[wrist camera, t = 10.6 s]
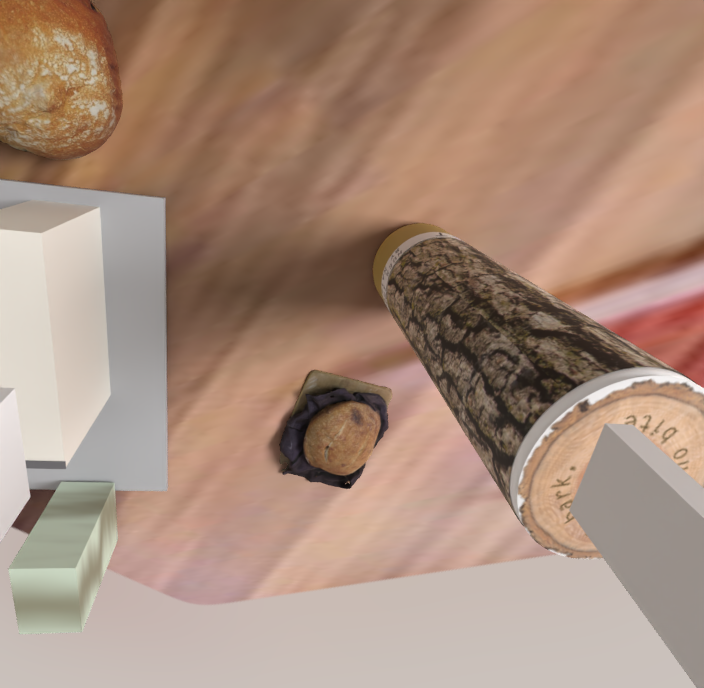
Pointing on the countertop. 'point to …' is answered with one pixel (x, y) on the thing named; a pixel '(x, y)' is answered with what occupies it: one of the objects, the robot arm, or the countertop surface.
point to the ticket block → (85, 333)
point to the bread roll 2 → (334, 428)
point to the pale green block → (65, 559)
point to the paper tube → (530, 377)
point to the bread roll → (57, 78)
